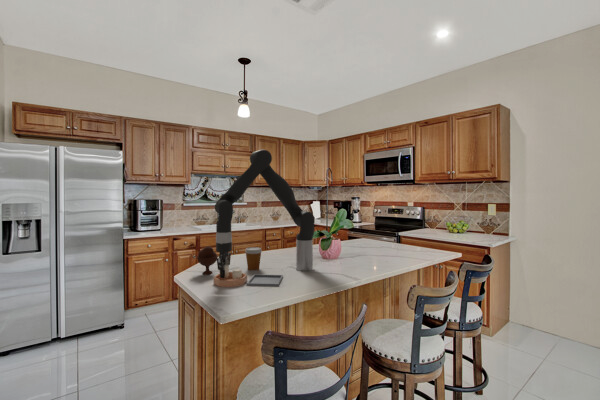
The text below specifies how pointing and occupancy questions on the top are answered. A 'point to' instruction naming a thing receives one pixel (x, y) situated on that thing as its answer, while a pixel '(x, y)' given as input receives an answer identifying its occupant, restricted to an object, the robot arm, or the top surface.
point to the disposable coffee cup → (253, 258)
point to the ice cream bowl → (207, 258)
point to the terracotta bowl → (229, 280)
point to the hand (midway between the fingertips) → (224, 276)
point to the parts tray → (264, 280)
